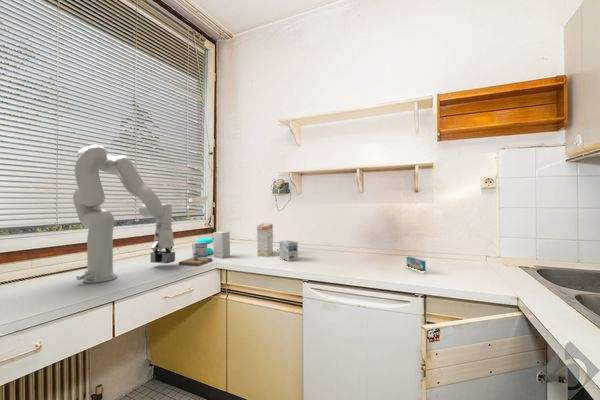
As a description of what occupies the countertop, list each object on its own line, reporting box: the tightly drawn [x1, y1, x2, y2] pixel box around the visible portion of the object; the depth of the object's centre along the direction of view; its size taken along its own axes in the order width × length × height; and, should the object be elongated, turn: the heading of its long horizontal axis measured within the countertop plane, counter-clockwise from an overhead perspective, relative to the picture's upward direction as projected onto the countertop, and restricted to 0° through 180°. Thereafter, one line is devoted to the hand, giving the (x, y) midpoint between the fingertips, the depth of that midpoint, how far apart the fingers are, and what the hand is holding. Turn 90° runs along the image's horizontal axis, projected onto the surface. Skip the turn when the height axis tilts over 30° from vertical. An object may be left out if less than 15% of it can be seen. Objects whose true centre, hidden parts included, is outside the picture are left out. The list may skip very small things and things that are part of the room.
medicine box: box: [191, 242, 208, 258], centre depth 183 cm, size 8×4×9 cm, turn 131°
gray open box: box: [150, 250, 176, 264], centre depth 156 cm, size 6×10×5 cm, turn 76°
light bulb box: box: [279, 239, 299, 262], centre depth 175 cm, size 11×7×11 cm, turn 35°
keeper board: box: [178, 253, 213, 267], centre depth 165 cm, size 14×12×6 cm
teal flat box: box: [406, 256, 426, 272], centre depth 148 cm, size 12×2×6 cm, turn 18°
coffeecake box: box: [256, 222, 274, 257], centre depth 190 cm, size 15×7×20 cm, turn 172°
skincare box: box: [212, 230, 231, 259], centre depth 181 cm, size 8×7×16 cm
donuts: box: [196, 237, 214, 256], centre depth 192 cm, size 10×10×10 cm
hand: (162, 260), depth 156 cm, fingers closed on gray open box, 6 cm apart
